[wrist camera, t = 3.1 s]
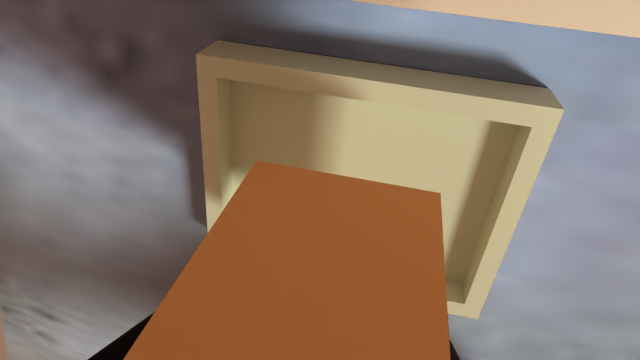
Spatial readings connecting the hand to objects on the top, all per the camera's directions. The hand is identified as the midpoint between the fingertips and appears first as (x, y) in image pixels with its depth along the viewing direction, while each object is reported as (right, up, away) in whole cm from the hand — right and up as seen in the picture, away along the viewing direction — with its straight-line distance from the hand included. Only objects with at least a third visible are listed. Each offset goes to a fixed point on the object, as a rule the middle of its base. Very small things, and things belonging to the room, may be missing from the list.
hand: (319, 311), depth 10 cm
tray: (+1, +3, +5) cm, 6 cm away
